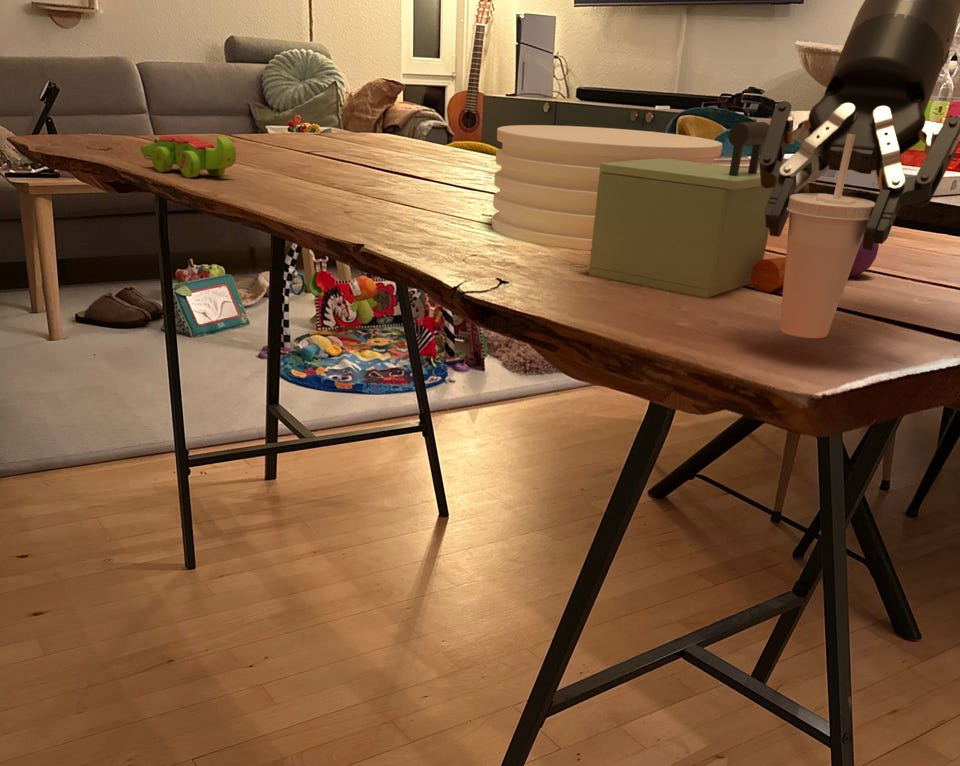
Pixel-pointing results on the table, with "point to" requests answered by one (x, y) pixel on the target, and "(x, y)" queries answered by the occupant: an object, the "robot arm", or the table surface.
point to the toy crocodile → (190, 155)
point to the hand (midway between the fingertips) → (820, 235)
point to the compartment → (677, 234)
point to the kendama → (772, 271)
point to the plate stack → (571, 176)
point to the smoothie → (821, 254)
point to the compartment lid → (704, 172)
